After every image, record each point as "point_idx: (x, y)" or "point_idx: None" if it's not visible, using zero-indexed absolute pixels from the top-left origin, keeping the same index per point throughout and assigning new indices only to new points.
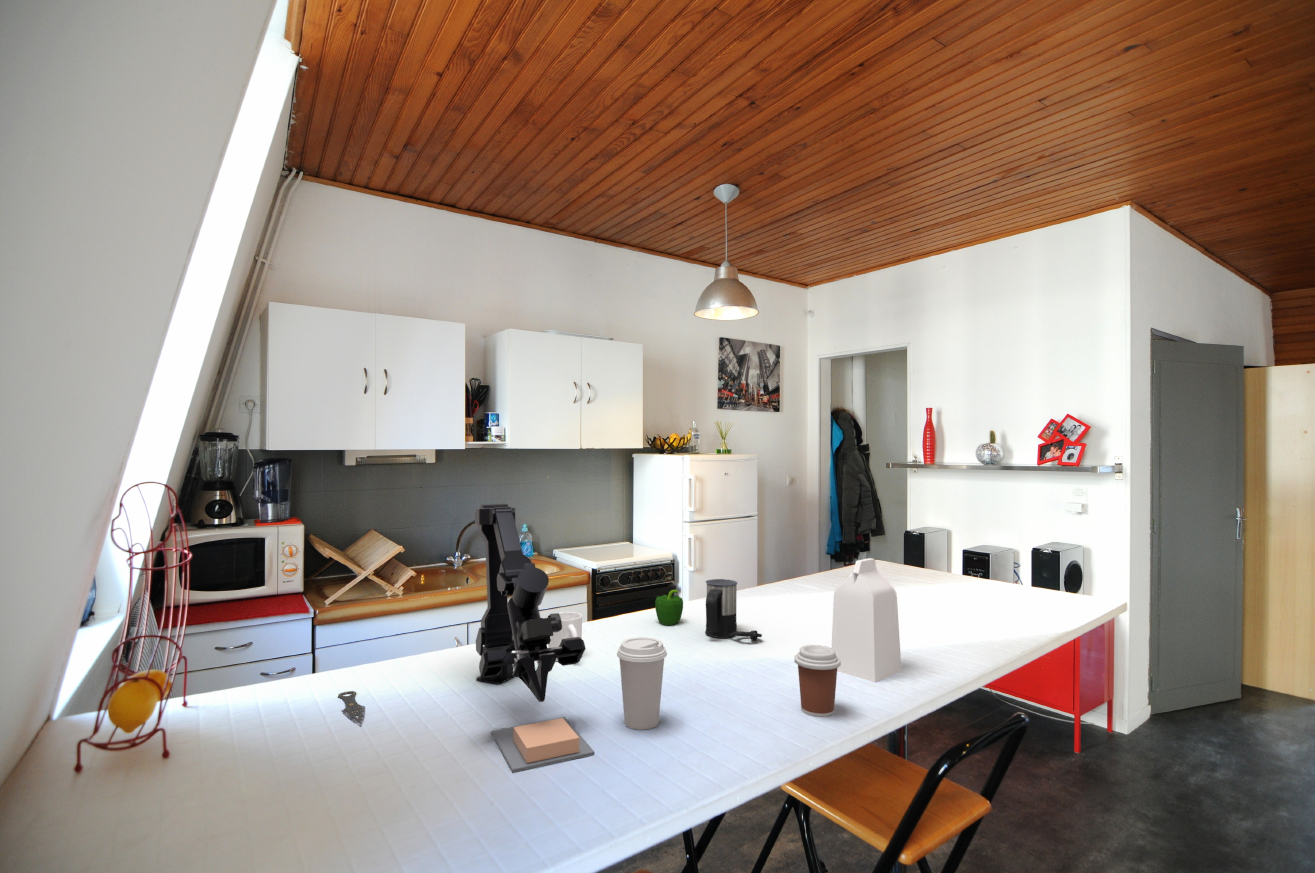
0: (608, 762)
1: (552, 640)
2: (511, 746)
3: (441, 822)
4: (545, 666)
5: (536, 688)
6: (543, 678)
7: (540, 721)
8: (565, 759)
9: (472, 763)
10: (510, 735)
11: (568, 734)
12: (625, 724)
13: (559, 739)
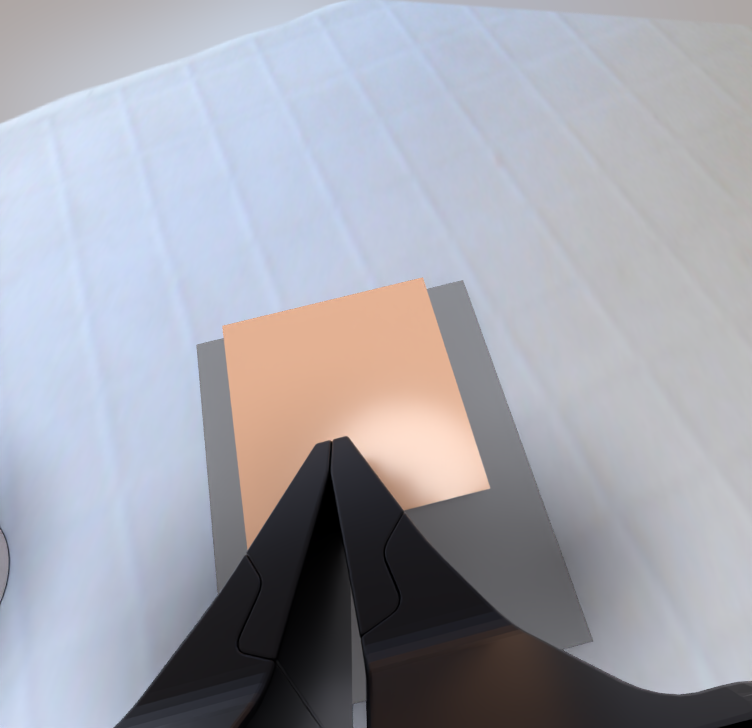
0: (176, 294)
1: None
2: (479, 445)
3: (604, 108)
4: (180, 718)
5: (369, 472)
6: (281, 552)
7: (356, 701)
8: None
9: (602, 365)
10: (493, 557)
11: (256, 362)
12: (6, 575)
13: (297, 324)
